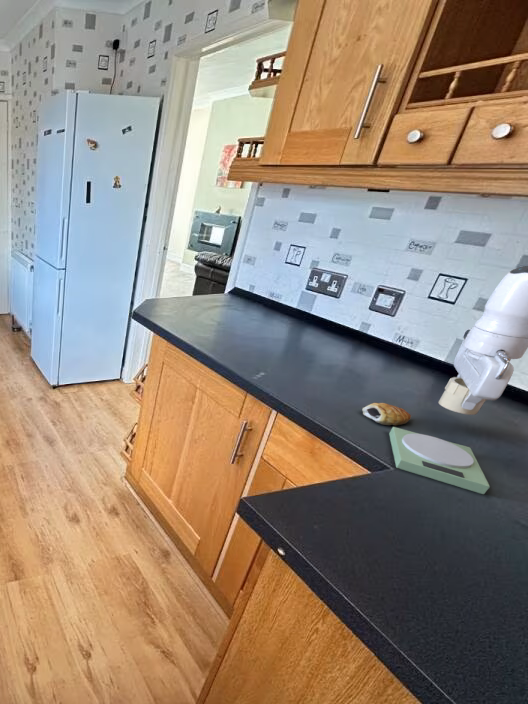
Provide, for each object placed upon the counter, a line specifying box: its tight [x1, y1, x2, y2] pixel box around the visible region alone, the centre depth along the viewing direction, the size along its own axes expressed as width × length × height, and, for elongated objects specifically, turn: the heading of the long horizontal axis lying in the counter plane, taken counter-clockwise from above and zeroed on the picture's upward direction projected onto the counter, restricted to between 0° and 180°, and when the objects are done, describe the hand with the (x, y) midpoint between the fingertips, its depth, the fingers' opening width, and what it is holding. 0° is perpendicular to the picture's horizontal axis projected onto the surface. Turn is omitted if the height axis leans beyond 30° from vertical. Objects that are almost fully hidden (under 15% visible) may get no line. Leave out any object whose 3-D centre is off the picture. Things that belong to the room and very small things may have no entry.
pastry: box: [361, 402, 412, 426], centre depth 100 cm, size 9×7×4 cm
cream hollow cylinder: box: [437, 376, 488, 416], centre depth 93 cm, size 7×7×6 cm
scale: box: [388, 426, 491, 495], centre depth 86 cm, size 13×15×3 cm
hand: (461, 400), depth 93 cm, fingers closed on cream hollow cylinder, 7 cm apart
